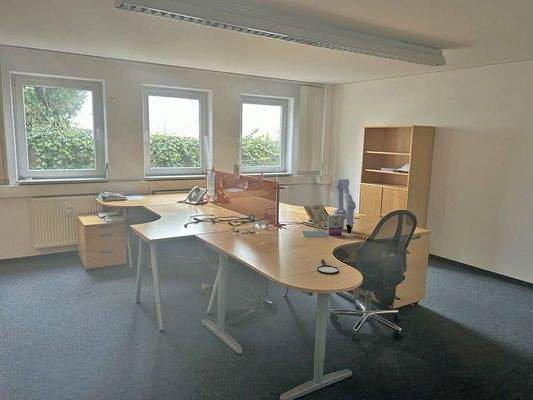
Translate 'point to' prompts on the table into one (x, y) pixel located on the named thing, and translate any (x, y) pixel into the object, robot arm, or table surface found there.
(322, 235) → the mat
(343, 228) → the robot arm
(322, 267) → the magnifying glass
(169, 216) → the table surface
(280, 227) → the table surface
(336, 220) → the candy bar box
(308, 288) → the table surface
